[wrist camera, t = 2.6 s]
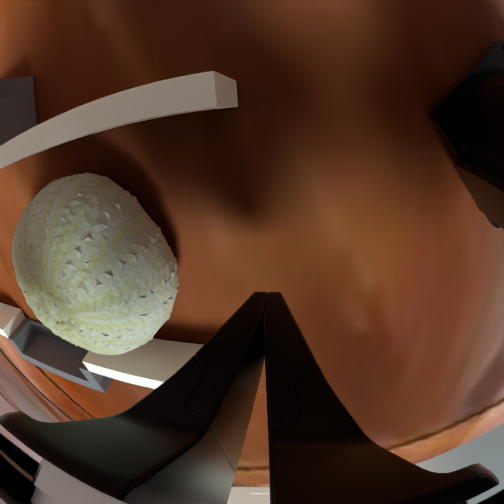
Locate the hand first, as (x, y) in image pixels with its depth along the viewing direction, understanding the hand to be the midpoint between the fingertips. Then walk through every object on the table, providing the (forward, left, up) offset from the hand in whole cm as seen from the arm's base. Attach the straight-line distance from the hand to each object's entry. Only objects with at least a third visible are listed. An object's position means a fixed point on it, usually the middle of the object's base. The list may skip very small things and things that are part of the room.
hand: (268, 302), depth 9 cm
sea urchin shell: (+6, -6, -4) cm, 9 cm away
